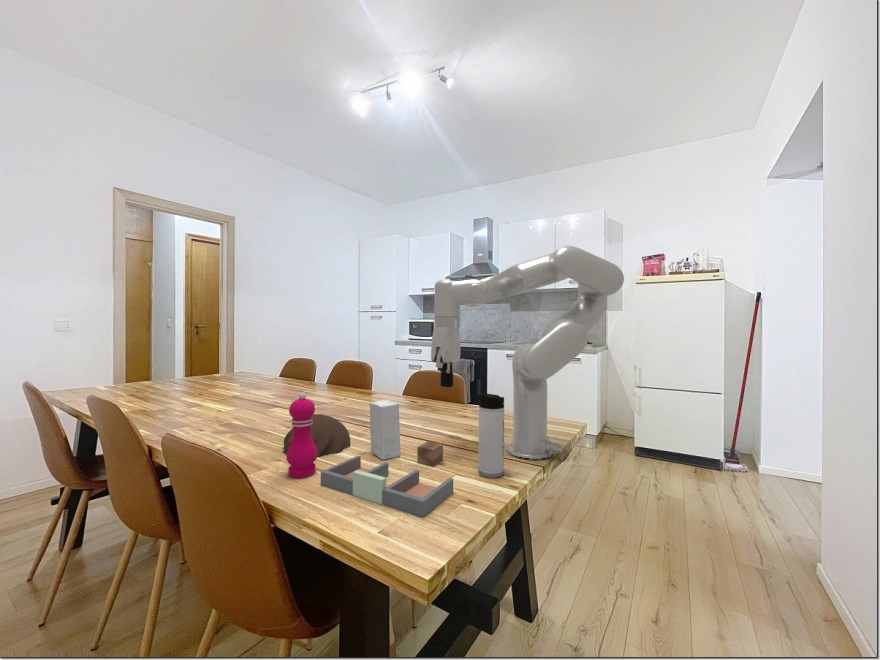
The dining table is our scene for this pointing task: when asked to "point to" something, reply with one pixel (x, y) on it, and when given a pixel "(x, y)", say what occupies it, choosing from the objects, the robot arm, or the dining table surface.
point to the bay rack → (373, 487)
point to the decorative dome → (324, 435)
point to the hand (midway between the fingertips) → (446, 386)
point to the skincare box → (385, 429)
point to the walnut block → (430, 453)
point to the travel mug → (491, 435)
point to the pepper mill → (301, 439)
